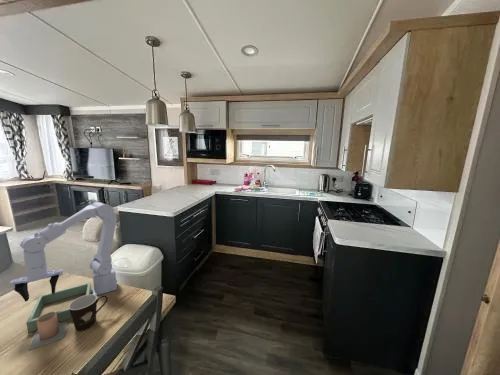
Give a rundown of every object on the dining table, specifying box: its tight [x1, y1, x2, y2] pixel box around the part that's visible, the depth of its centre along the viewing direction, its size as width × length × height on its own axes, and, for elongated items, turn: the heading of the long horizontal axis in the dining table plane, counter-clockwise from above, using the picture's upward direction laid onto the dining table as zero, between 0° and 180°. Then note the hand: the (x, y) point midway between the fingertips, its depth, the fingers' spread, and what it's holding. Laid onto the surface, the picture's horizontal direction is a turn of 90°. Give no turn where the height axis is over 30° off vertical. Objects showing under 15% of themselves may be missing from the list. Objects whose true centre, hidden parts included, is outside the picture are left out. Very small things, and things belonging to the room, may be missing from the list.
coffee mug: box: [68, 293, 109, 332], centre depth 80 cm, size 12×9×10 cm
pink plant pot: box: [37, 311, 59, 340], centre depth 75 cm, size 5×5×7 cm
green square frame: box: [26, 281, 92, 333], centre depth 89 cm, size 18×18×4 cm
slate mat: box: [28, 320, 68, 351], centre depth 76 cm, size 9×9×1 cm
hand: (40, 296), depth 82 cm, fingers open, 7 cm apart
